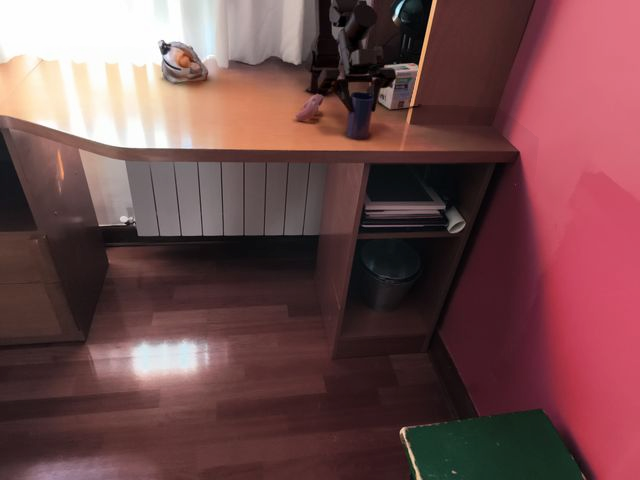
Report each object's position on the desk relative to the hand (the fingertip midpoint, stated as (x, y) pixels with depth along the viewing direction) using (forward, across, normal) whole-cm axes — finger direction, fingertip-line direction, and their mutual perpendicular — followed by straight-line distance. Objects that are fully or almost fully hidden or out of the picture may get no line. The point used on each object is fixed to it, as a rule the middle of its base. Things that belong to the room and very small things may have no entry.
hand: (362, 111), depth 110 cm
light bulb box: (-10, +21, +19) cm, 30 cm away
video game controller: (-5, -9, +15) cm, 18 cm away
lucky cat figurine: (-27, -38, +37) cm, 60 cm away
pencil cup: (+4, 0, +6) cm, 7 cm away
